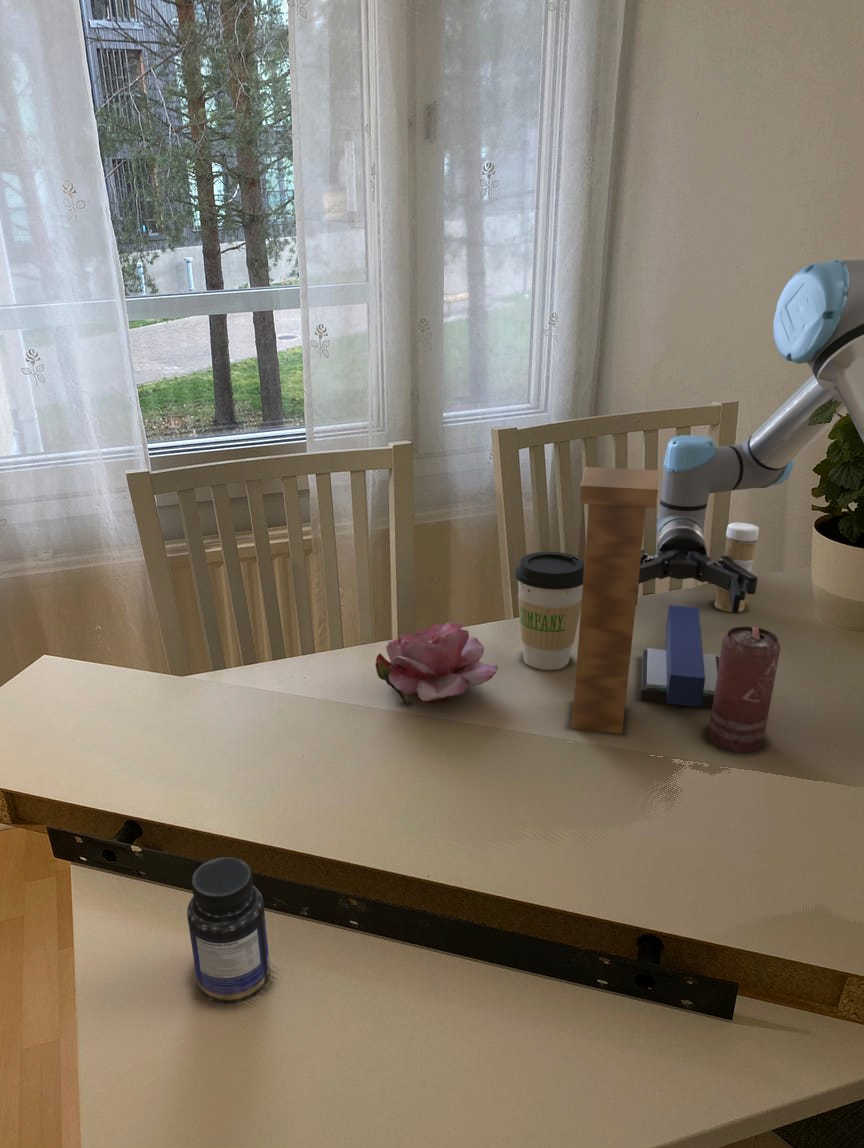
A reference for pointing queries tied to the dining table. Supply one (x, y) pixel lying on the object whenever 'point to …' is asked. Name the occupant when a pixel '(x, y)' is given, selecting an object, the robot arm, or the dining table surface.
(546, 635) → the coffee cup
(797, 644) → the dining table surface
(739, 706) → the can
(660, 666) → the scale
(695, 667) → the spaghetti box
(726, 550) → the sprinkles bottle
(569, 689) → the dining table surface
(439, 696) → the flower
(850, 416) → the robot arm
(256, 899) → the pill bottle
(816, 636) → the dining table surface
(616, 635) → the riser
